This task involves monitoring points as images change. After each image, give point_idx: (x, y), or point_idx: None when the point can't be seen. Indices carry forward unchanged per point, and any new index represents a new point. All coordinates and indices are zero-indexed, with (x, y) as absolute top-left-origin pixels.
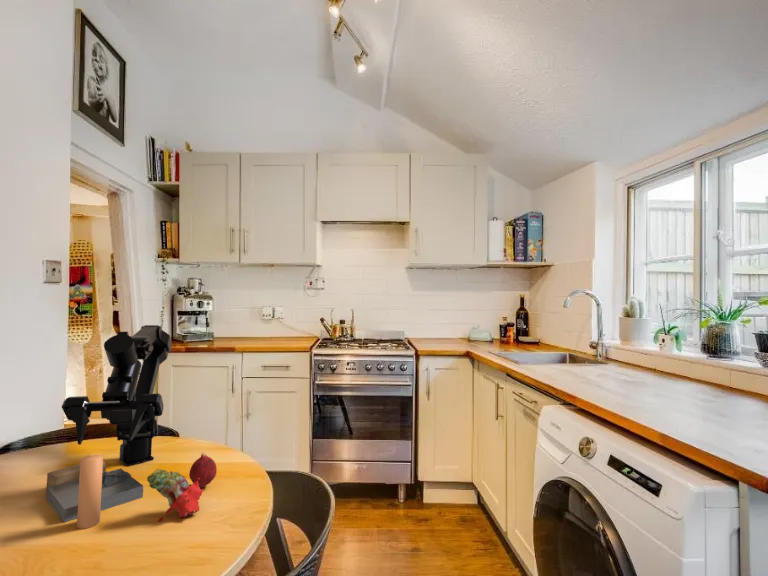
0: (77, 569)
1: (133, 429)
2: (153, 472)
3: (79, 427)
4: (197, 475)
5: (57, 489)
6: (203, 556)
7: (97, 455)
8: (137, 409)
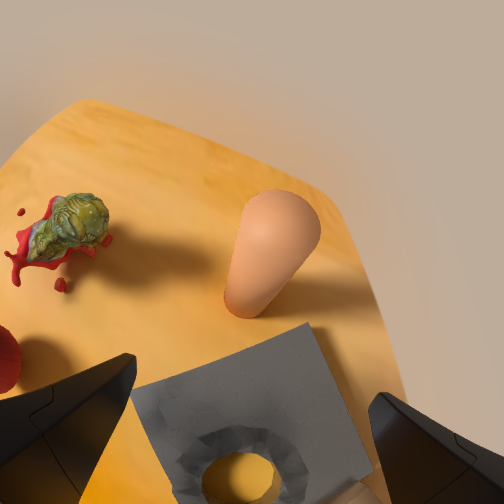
0: (237, 151)
1: (94, 370)
2: (88, 210)
3: (432, 428)
4: (2, 329)
5: (351, 454)
6: (89, 119)
7: (266, 246)
8: (5, 445)
